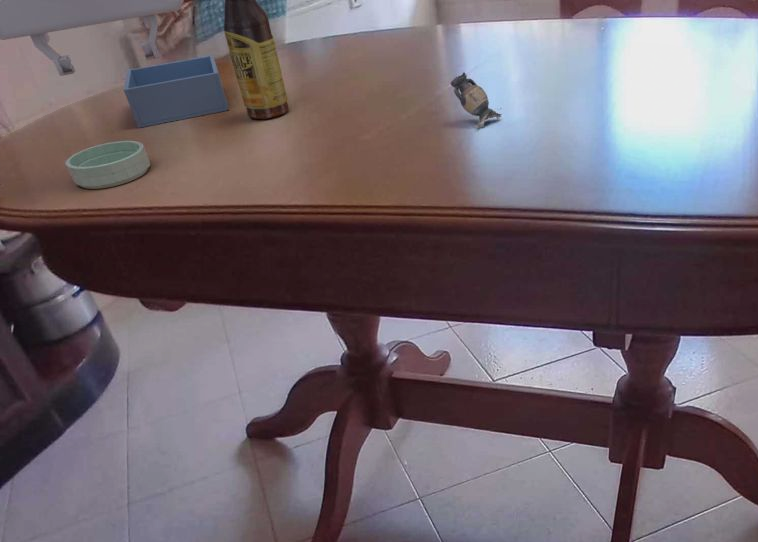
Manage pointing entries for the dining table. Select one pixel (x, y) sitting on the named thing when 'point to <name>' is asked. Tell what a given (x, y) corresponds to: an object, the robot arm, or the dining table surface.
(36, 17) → the robot arm
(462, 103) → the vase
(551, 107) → the dining table surface
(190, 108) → the tub
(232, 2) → the sauce bottle
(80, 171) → the mint green bowl
